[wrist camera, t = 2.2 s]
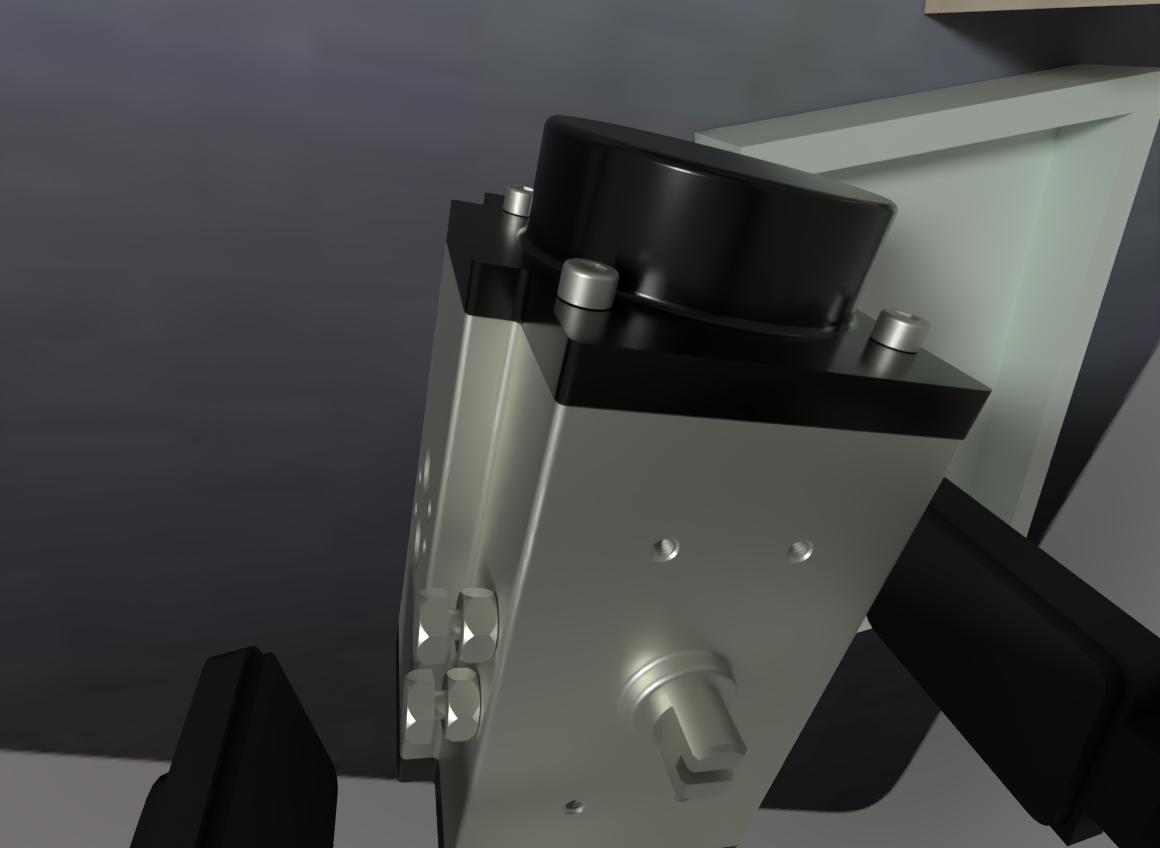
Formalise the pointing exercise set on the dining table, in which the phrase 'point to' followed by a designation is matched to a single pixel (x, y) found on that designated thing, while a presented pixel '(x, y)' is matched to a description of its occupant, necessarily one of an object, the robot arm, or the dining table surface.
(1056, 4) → the bore block
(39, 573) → the dining table surface
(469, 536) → the pneumatic valve
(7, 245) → the dining table surface
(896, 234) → the tray
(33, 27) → the dining table surface
